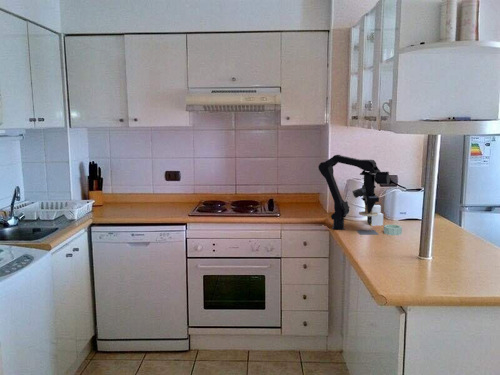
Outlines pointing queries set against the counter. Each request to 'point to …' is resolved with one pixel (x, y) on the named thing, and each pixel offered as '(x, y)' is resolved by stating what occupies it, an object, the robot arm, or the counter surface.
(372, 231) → the mat
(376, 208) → the medicine bottle
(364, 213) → the lid
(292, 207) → the counter surface
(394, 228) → the bowl
